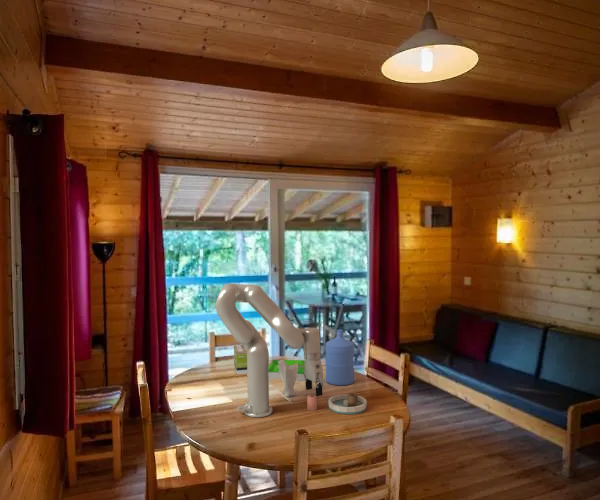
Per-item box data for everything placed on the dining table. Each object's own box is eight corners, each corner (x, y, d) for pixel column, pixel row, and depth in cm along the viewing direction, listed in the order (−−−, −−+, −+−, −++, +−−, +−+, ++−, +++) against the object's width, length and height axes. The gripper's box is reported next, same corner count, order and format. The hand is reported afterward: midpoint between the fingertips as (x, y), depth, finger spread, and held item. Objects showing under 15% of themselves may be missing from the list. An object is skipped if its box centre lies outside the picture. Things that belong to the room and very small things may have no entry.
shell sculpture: (300, 395, 224) (300, 359, 224) (288, 399, 218) (288, 362, 218) (288, 391, 230) (288, 356, 230) (276, 395, 224) (276, 359, 224)
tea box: (233, 369, 269) (233, 344, 269) (250, 368, 272) (250, 343, 271) (236, 377, 255) (236, 351, 254) (254, 375, 257) (253, 349, 257)
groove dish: (341, 417, 197) (341, 410, 197) (321, 404, 212) (321, 397, 212) (373, 410, 204) (373, 403, 204) (352, 398, 220) (352, 392, 220)
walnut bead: (351, 410, 201) (351, 397, 201) (346, 407, 205) (346, 394, 205) (359, 409, 203) (359, 395, 203) (354, 405, 207) (354, 392, 207)
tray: (273, 367, 274) (273, 359, 274) (314, 368, 271) (314, 360, 271) (264, 380, 249) (264, 371, 249) (309, 382, 246) (309, 373, 246)
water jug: (342, 388, 235) (342, 334, 234) (319, 381, 245) (319, 330, 244) (360, 380, 246) (360, 329, 245) (337, 375, 257) (337, 326, 256)
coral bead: (310, 411, 203) (309, 398, 203) (305, 408, 207) (305, 395, 207) (318, 409, 205) (318, 396, 205) (314, 406, 209) (313, 393, 209)
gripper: (328, 358, 200) (330, 396, 200) (310, 350, 215) (312, 385, 216) (313, 361, 196) (315, 400, 197) (296, 352, 212) (298, 388, 212)
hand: (314, 392), depth 206 cm, fingers open, 9 cm apart
